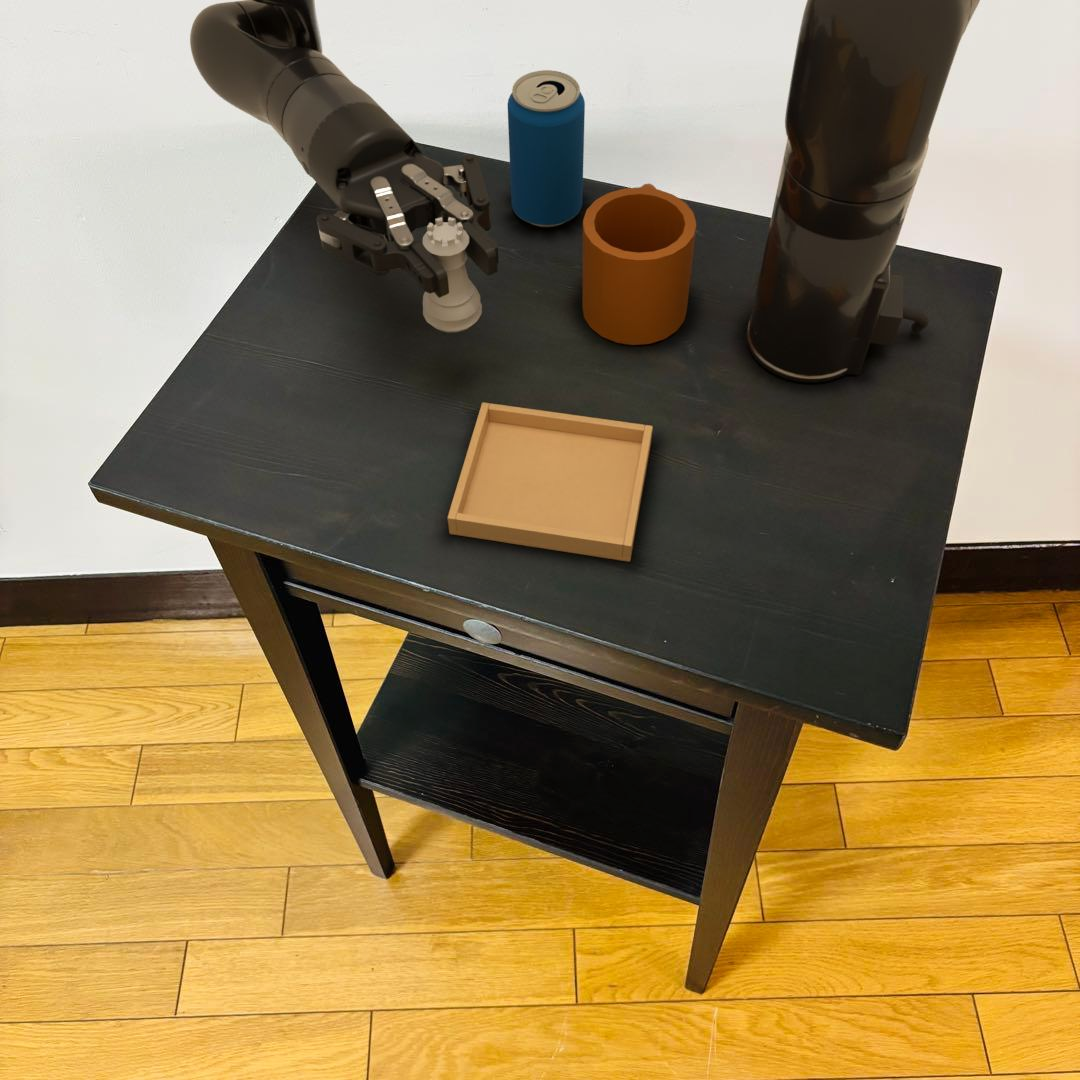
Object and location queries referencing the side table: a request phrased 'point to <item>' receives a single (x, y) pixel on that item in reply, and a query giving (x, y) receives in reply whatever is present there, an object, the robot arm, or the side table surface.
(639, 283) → the mug
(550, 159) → the beverage can
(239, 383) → the side table surface
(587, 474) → the tray
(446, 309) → the rook chess piece
